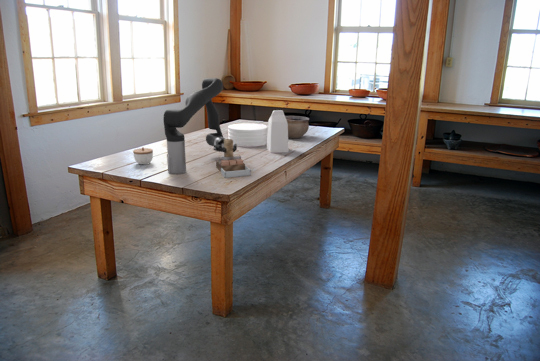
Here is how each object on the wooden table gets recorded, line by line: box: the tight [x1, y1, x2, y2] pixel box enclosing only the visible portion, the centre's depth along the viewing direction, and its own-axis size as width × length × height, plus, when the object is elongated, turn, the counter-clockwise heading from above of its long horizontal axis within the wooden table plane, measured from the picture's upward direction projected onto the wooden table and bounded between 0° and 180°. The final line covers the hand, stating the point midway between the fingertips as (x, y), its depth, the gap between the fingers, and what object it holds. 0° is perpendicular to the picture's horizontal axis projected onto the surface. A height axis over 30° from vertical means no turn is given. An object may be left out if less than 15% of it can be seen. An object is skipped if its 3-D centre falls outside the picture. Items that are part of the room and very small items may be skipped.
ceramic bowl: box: [285, 115, 310, 139], centre depth 322 cm, size 22×22×15 cm
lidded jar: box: [132, 146, 154, 165], centre depth 246 cm, size 11×11×9 cm
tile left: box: [221, 160, 229, 166], centre depth 230 cm, size 4×4×2 cm
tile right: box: [235, 158, 244, 164], centre depth 233 cm, size 4×4×2 cm
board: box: [215, 160, 246, 173], centre depth 236 cm, size 13×12×4 cm
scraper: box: [218, 138, 242, 164], centre depth 235 cm, size 12×6×12 cm, turn 111°
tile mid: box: [228, 160, 236, 165], centre depth 232 cm, size 4×4×2 cm
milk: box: [266, 109, 289, 154], centre depth 278 cm, size 12×12×26 cm
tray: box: [220, 165, 252, 178], centre depth 227 cm, size 14×8×3 cm, turn 111°
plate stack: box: [227, 122, 268, 148], centre depth 304 cm, size 28×28×12 cm
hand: (230, 150), depth 234 cm, fingers closed on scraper, 4 cm apart
